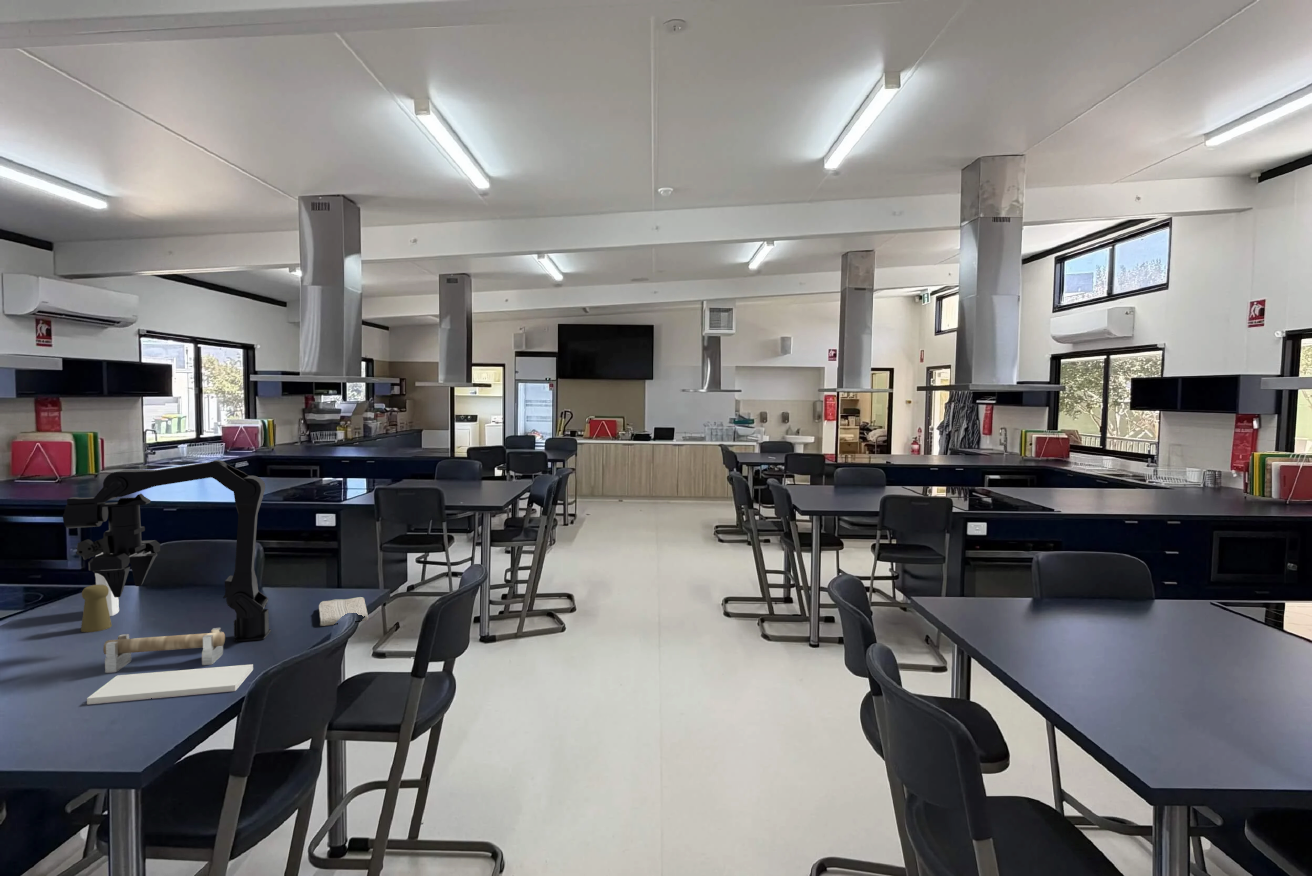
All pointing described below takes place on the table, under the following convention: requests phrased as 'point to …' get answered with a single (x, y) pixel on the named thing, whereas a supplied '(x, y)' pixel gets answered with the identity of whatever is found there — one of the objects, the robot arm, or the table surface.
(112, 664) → the aluminium cradles
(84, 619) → the cork
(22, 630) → the table surface
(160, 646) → the beech dowel
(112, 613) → the squeeze bottle
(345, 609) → the washcloth
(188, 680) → the cutting board
